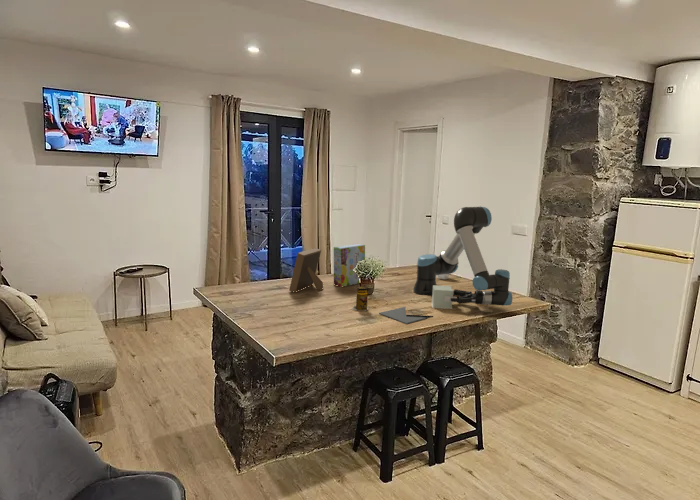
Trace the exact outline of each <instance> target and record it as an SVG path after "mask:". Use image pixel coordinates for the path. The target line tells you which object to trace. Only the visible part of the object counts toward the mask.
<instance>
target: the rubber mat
mask: <svg viewBox="0 0 700 500" xmlns="http://www.w3.org/2000/svg"><path fill="white" fill-rule="evenodd" d="M406 309H407V308H406V306H403V307H399V308H394V309H389V310H385V311H381V312H378V314H379V315H380V316H383V317H386V318H388V319H392V320H394V321H397V322H399V323H402V324H405V325H408V324H412V323H417V322H420V321H423V320H428V319H431V318H434V316H433V315H423V314H421V315H419V314H407V311H406Z"/></svg>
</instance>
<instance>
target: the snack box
mask: <svg viewBox="0 0 700 500" xmlns="http://www.w3.org/2000/svg"><path fill="white" fill-rule="evenodd" d="M362 260H365V261H366V245H365V244H362V243H361V244H360V243H353V244H346V245H339V246H334V247H333V285H334V284H335V285H338V286H337V287H339V286H341V287H340V288H343V287H342V286H345V287H348V286H347V285H349V286H352V284H354V285H358V284H360V283H359V277H358V275H357V274H355V273H354V272H353V269H354V268H355V267H356V265H357V263H358V261H362ZM357 283H358V284H357ZM335 285H334V286H335Z"/></svg>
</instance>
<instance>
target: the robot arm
mask: <svg viewBox="0 0 700 500" xmlns="http://www.w3.org/2000/svg"><path fill="white" fill-rule="evenodd" d="M453 218H454V219H453V227H454V230H455V233H456V235H455V236H454V238H453V240H452V241H451V242H450V244H449V245H448V247H447V248H446V249H445V250H442V251H441V253H440V254H439V255H438V256H437V255H436V254H431V253H429V254H427V253H426V254H422V255H420V256H419V257H418V259H417V263H416V265H417V268H416V269H417V270H416V281H415V283H414V287H413V289H412V290H413V293H415V294H417V295H421V296H432V292H433V285H436V286H438V285H437V280H436V279H437V277H436V275H443V274H449V275H451V274H453V273H455V272H457V270H458V268H459V258H460V256H461V255H462V253H463V252H465V255H466V257H467V261H468V263H469V266H470V267H471V271H472V273H473V276H474V277H473V279H472V281H471V282H472V287H473V289H475V290H474V293H473V292H472V291H467V290H461V289H452V290H453V296H452V297H448V296H444V302H452V303H458V304H460V305H461V304H471V303H472V304H475V305H482V304H483V305H485V306H491V305H492V306H511V305H512V303H513V293H512V292H511V291H509V289H510V288H509V287H510V271H509V270H506V269H502V268H501V269H496V270H495V272H494V274H490V273H489V270H488V268H487V266H486V263H485V260H484V258H483V255H482V252H481V250H480V247H479V244H478V242H477V239H476V237H475V234H480V232H481V231H482V230H483V228H487V227H489V226H490V225H491V223H492V213H491V211H490V210H489V208H488V207H486V206H482V205H480V206H464V207H461V208H459V209H458V210H457V211H456V212H455V214H454V217H453Z"/></svg>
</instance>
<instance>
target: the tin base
mask: <svg viewBox="0 0 700 500" xmlns="http://www.w3.org/2000/svg"><path fill="white" fill-rule="evenodd" d="M430 304H431V309H434V308H433V305H432V301H431V302H430ZM443 309H445V310H453V309H454V308H453V307H452V309H451V308H443Z"/></svg>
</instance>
